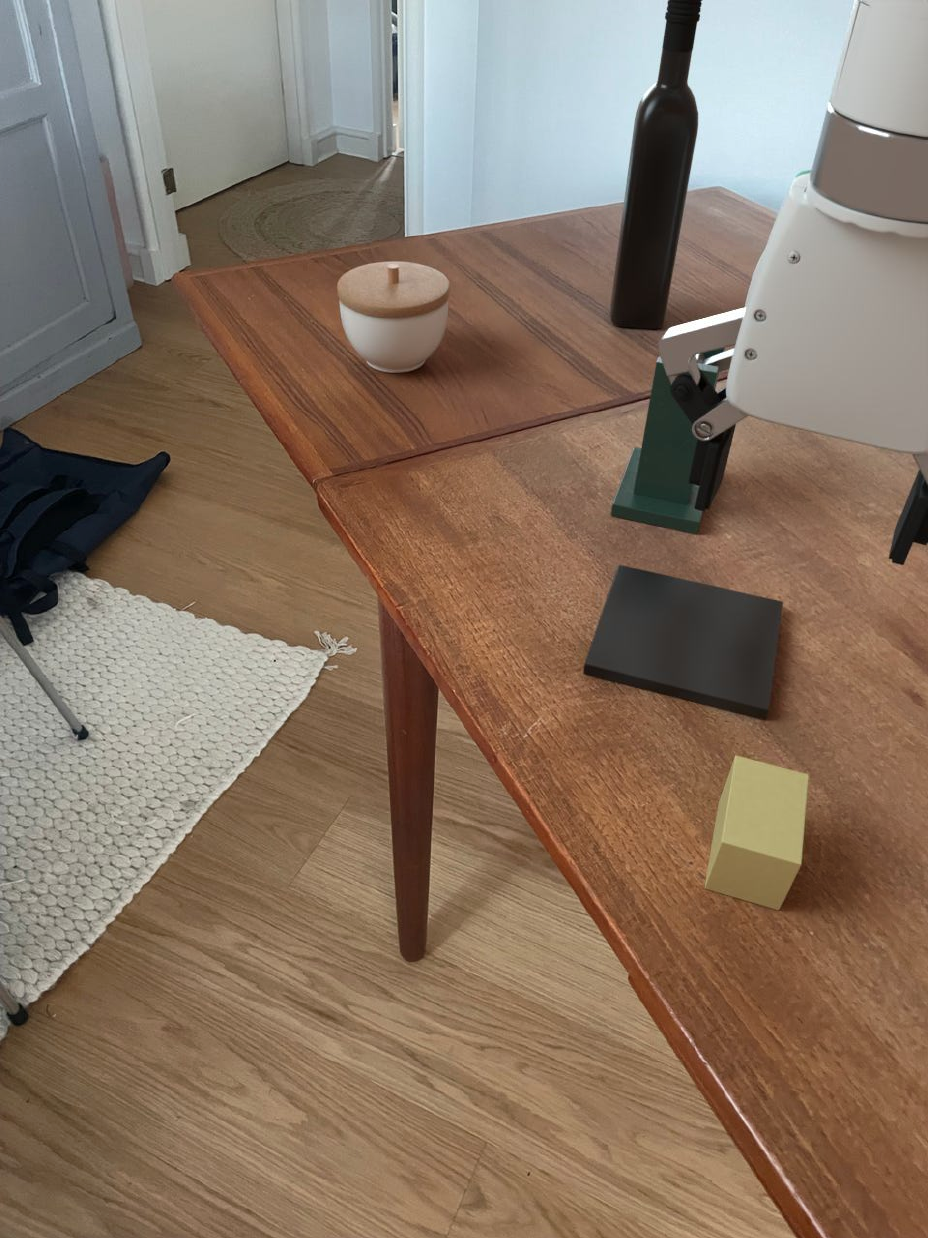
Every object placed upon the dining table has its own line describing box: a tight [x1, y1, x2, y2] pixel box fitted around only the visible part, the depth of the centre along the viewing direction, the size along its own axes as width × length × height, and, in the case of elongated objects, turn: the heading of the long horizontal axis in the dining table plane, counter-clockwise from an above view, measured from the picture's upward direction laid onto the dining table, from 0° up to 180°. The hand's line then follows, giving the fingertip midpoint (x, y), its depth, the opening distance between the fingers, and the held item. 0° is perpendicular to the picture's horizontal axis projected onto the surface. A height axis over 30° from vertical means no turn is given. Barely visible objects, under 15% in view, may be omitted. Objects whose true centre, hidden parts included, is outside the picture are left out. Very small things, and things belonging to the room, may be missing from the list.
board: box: [582, 564, 784, 721], centre depth 65 cm, size 12×11×1 cm
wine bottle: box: [609, 0, 703, 330], centre depth 92 cm, size 6×6×30 cm
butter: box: [704, 755, 810, 911], centre depth 51 cm, size 4×6×4 cm, turn 161°
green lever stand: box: [610, 347, 726, 535], centre depth 73 cm, size 7×9×13 cm
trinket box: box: [336, 261, 451, 374], centre depth 91 cm, size 11×11×9 cm
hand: (800, 521), depth 48 cm, fingers open, 9 cm apart
